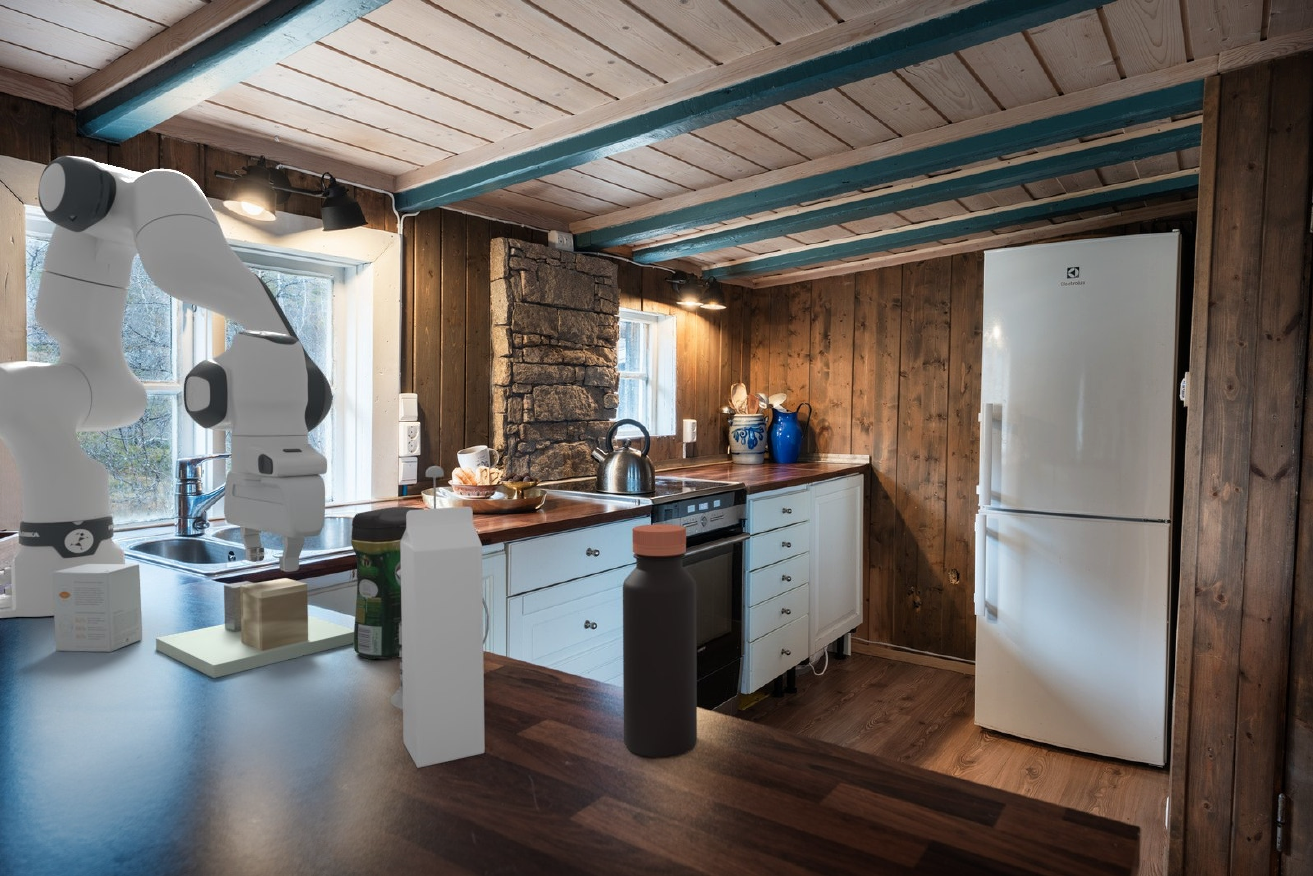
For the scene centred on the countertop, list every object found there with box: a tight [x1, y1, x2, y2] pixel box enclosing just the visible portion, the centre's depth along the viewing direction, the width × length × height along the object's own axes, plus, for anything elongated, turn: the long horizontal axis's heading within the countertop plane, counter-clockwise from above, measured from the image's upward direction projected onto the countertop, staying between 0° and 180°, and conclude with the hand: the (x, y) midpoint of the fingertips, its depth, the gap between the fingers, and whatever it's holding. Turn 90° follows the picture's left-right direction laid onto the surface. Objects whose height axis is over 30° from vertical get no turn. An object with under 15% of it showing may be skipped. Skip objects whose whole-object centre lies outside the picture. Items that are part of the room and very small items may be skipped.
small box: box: [52, 563, 143, 653], centre depth 103 cm, size 8×6×10 cm
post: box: [223, 580, 255, 632], centre depth 105 cm, size 3×3×8 cm
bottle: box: [622, 523, 698, 759], centre depth 71 cm, size 7×7×20 cm
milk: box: [400, 506, 485, 769], centre depth 70 cm, size 6×6×22 cm
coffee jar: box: [350, 506, 424, 660], centre depth 100 cm, size 10×8×19 cm
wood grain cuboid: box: [240, 577, 309, 651], centre depth 99 cm, size 6×6×7 cm
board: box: [155, 614, 354, 679], centre depth 102 cm, size 18×18×2 cm
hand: (271, 565), depth 99 cm, fingers open, 8 cm apart
